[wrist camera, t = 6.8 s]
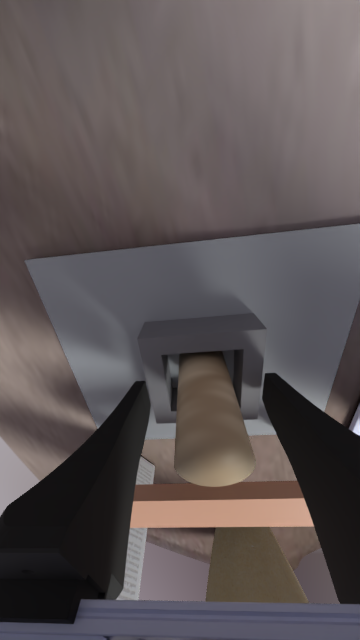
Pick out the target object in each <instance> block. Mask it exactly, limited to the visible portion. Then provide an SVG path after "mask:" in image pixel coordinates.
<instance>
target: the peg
mask: <svg viewBox="0 0 360 640" xmlns="http://www.w3.org/2000/svg"><path fill="white" fill-rule="evenodd" d="M255 466H256V460H255V456H254V453H253V450H252V447H251V443H250V440H249V437H248V433H247V430H246V427H245V424H244V420H243V417H242V414H241V411H240V407H239V404H238V401H237V398H236V394H235V391H234V388H233V385H232V381H231V378H230V375H229V372H228V368H227V365H226V362H225V358H224V355H223V352H222V351H210V352H195V353H181V354H180V355H179V374H178V395H177V415H176V436H175V456H174V467H175V470H176V472H177V473H178V475H179V476H181V477H182V478H183V479H185V480H186V481H188V482H191V483H193V484H196V485H201V486H208V487H220V486H227V485H232V484H235V483H238V482H240V481H242V480H244V479H246V478H247V477H248V476H249V475H250V474H251V473H252V472H253V471H254V469H255Z"/></svg>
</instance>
